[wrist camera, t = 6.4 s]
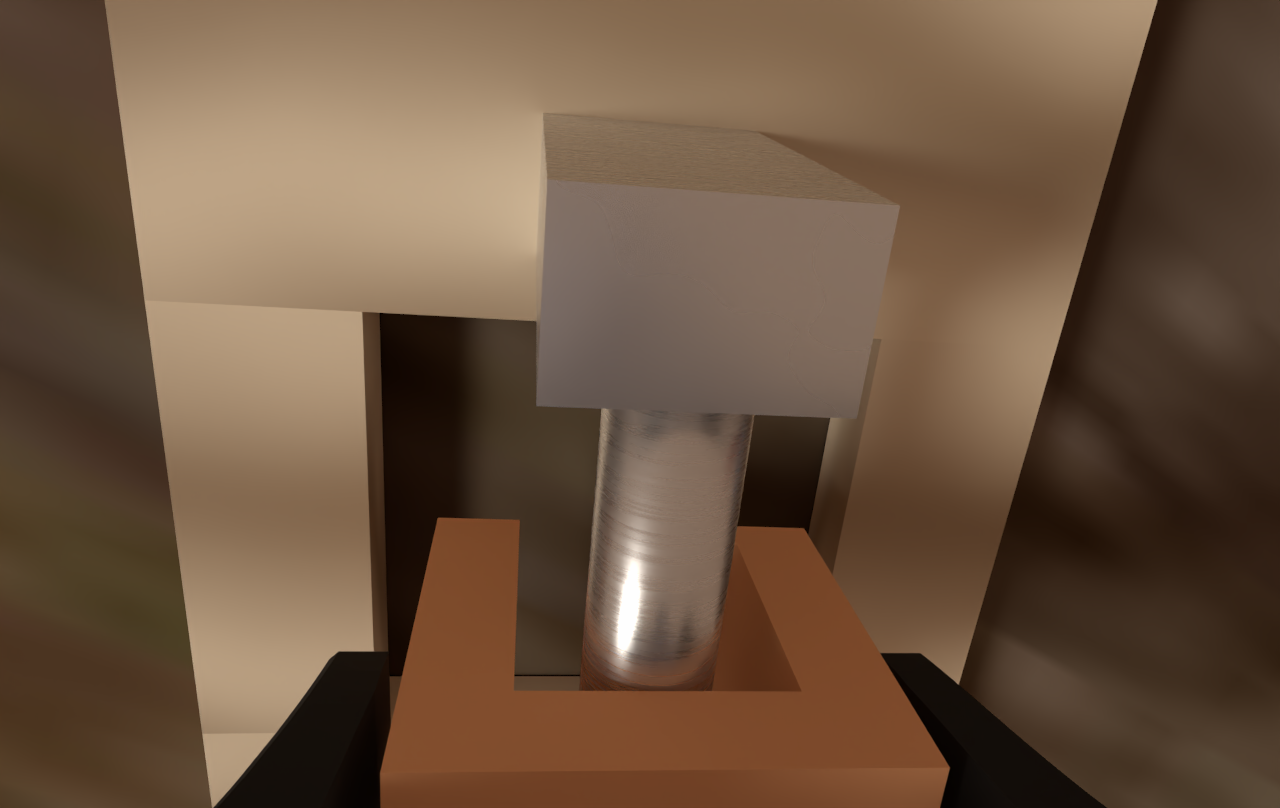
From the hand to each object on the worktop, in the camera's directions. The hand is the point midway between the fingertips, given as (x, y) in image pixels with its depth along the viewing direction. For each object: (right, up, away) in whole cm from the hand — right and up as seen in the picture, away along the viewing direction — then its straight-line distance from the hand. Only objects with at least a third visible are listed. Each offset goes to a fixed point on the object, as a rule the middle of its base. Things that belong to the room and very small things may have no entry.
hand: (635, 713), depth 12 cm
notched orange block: (0, +1, +2) cm, 3 cm away
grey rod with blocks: (0, +2, +4) cm, 4 cm away
